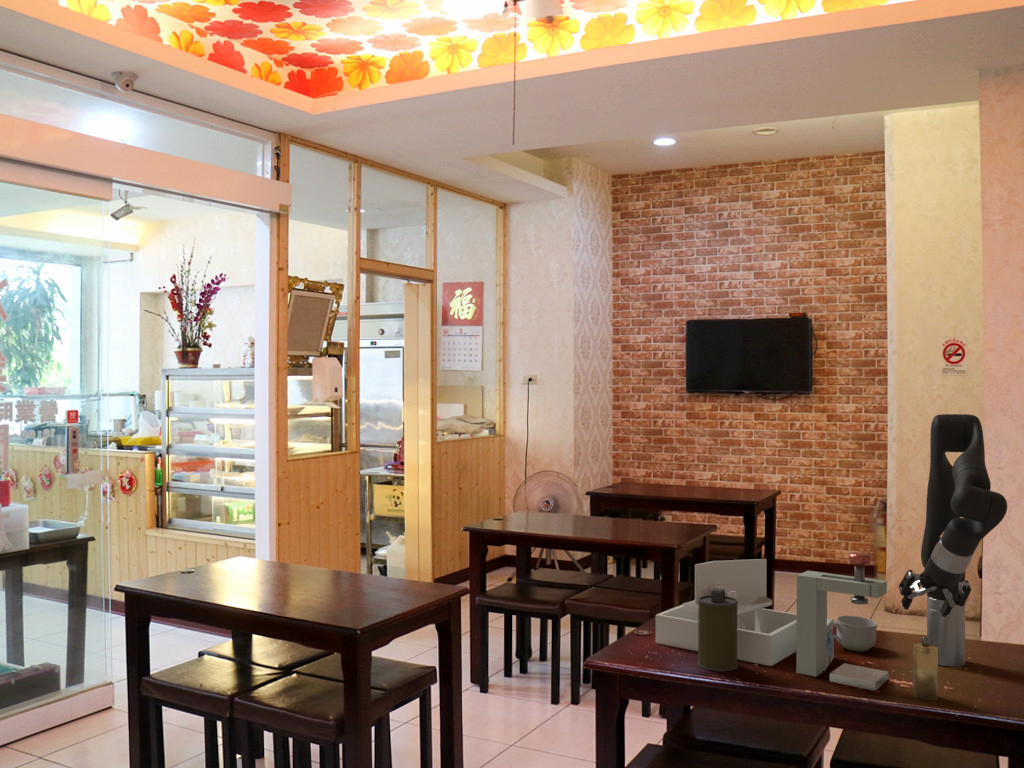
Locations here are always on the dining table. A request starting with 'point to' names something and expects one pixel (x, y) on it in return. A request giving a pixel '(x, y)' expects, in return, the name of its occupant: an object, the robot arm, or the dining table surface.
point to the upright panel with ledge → (735, 587)
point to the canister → (717, 631)
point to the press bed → (859, 676)
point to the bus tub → (751, 646)
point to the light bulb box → (830, 640)
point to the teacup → (856, 632)
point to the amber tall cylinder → (925, 670)
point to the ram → (859, 573)
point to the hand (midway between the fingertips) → (923, 610)
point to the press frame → (822, 614)
